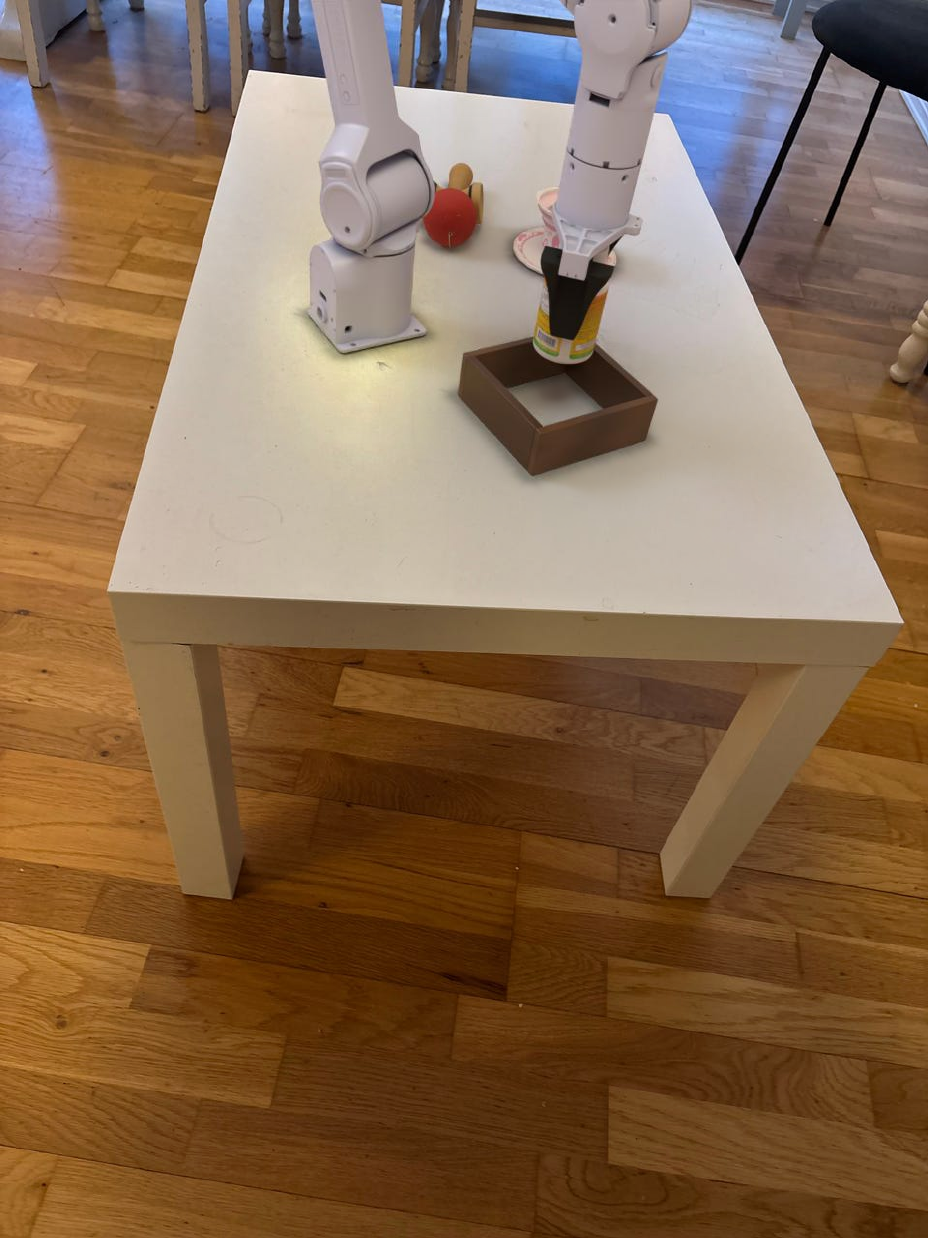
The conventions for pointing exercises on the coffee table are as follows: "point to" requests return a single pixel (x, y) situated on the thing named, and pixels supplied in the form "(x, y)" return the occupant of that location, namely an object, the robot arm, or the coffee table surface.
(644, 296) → the coffee table surface
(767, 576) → the coffee table surface
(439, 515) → the coffee table surface
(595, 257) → the supplement bottle
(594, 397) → the square frame
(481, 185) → the kendama
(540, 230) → the teacup
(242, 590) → the coffee table surface
